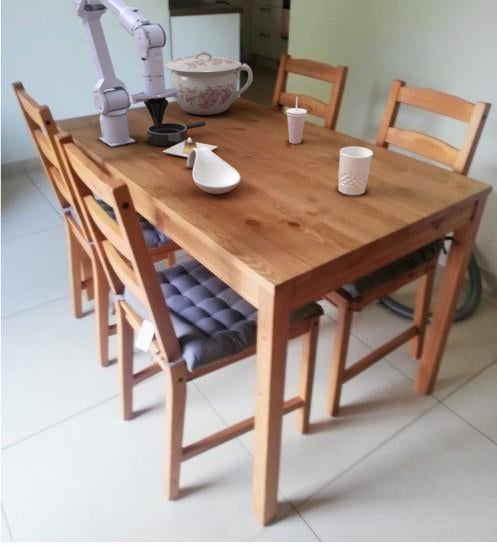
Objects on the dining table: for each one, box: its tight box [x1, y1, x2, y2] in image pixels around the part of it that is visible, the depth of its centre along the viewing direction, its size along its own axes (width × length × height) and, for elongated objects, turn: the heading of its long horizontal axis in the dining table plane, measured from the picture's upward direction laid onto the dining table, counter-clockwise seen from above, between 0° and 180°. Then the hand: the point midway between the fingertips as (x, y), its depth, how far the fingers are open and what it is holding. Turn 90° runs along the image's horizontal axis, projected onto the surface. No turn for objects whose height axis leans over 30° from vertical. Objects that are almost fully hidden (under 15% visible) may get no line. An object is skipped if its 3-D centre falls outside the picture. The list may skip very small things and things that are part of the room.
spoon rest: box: [186, 147, 241, 195], centre depth 127 cm, size 24×12×7 cm, turn 24°
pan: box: [146, 122, 188, 147], centre depth 156 cm, size 12×12×4 cm
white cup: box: [337, 146, 374, 196], centre depth 122 cm, size 8×8×10 cm
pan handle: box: [184, 120, 206, 130], centre depth 160 cm, size 2×8×2 cm, turn 127°
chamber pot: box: [164, 50, 254, 116], centre depth 181 cm, size 28×28×21 cm
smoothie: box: [286, 95, 308, 145], centre depth 153 cm, size 6×6×14 cm
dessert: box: [162, 136, 219, 159], centre depth 146 cm, size 12×12×5 cm
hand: (157, 126), depth 139 cm, fingers closed
